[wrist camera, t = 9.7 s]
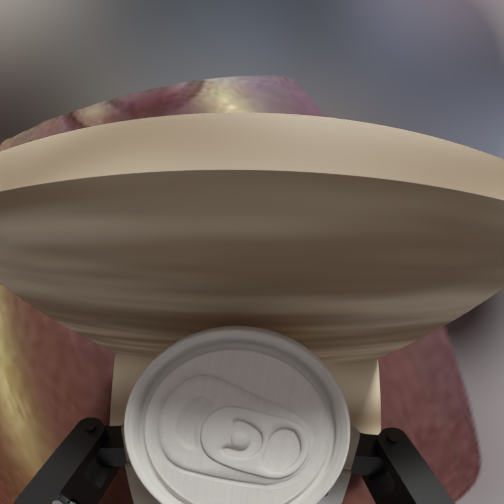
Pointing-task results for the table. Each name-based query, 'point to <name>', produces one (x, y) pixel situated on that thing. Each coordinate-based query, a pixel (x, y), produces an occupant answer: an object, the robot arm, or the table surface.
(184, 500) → the beer can
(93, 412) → the table surface
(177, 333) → the wall board
